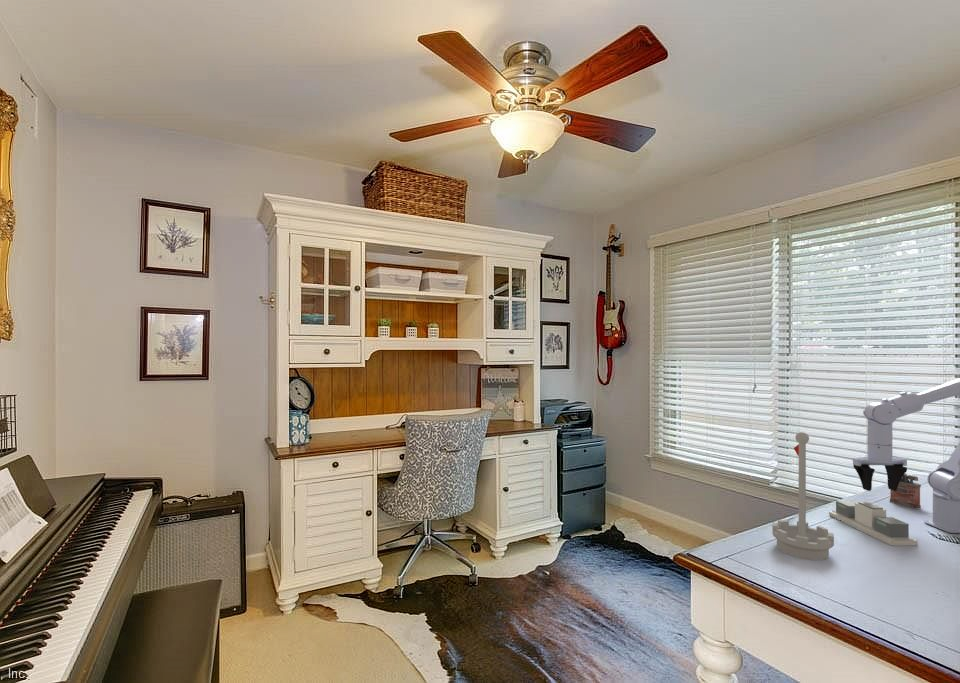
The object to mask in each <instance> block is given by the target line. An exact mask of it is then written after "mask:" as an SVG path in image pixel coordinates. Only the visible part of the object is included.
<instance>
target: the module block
mask: <svg viewBox="0 0 960 683" xmlns="http://www.w3.org/2000/svg"><path fill="white" fill-rule="evenodd" d="M874 517H887V509H885V508H884V507H882V506H880V505H877V504H875V503H872V502H870V501H857V503H855V520H856V521H858V522H860V523H862V524H864V525H866V526H869V527H871V528H874Z"/></svg>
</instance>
